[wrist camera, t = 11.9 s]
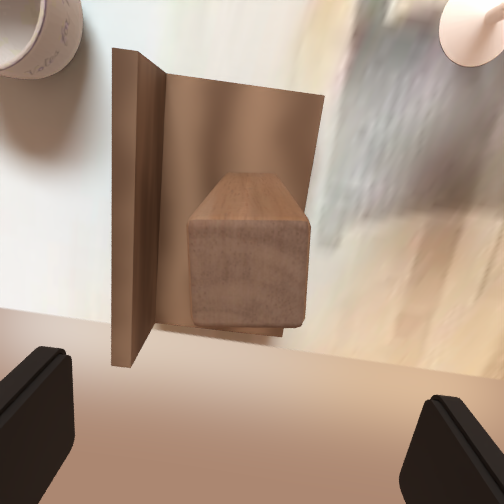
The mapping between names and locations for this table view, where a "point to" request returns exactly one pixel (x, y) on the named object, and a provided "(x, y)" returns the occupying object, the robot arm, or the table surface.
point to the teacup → (38, 36)
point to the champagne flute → (472, 31)
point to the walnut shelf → (187, 179)
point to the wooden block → (248, 255)
